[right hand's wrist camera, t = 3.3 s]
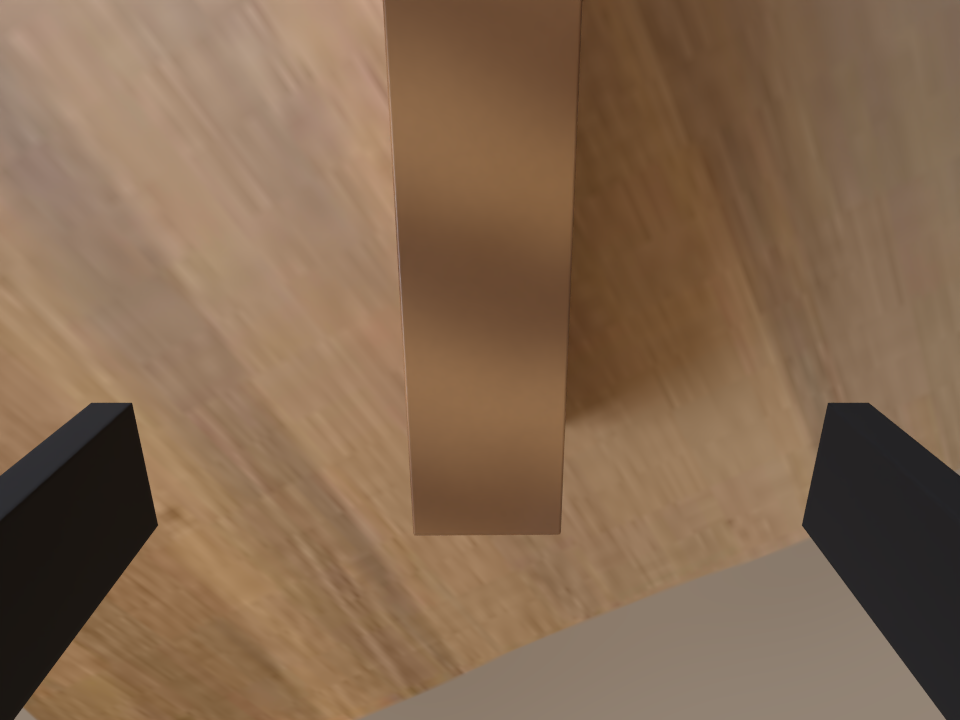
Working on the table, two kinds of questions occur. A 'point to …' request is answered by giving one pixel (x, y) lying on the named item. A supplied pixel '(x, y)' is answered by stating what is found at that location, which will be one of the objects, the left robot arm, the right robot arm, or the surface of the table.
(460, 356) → the post
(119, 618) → the table surface
